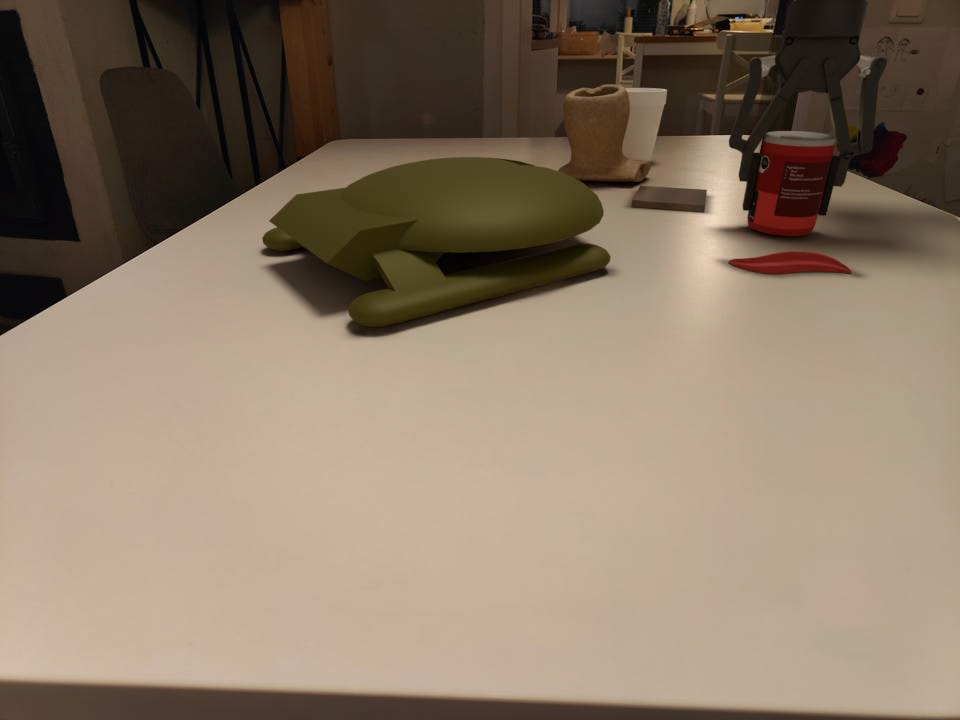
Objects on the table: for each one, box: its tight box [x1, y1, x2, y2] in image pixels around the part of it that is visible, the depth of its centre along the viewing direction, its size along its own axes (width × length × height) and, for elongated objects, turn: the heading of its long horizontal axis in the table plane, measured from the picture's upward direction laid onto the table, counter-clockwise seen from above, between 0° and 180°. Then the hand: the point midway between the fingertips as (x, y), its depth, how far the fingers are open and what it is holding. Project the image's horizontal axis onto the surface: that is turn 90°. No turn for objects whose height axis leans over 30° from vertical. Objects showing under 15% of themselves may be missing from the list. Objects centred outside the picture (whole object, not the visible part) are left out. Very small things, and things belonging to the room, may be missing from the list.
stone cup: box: [557, 84, 652, 183], centre depth 101 cm, size 15×12×15 cm
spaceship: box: [261, 156, 611, 328], centre depth 68 cm, size 35×31×10 cm
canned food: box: [746, 130, 836, 237], centre depth 74 cm, size 8×8×11 cm
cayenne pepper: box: [727, 250, 853, 275], centre depth 64 cm, size 12×5×2 cm, turn 67°
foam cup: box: [622, 87, 668, 161], centre depth 116 cm, size 10×9×13 cm
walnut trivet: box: [631, 185, 708, 213], centre depth 91 cm, size 10×10×1 cm
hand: (782, 210), depth 76 cm, fingers closed on canned food, 8 cm apart
